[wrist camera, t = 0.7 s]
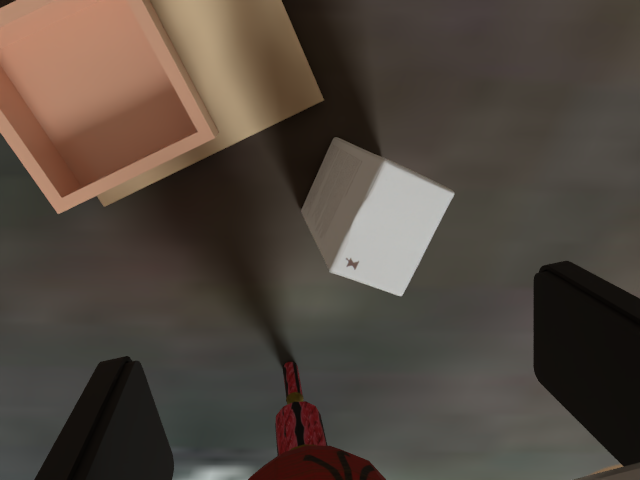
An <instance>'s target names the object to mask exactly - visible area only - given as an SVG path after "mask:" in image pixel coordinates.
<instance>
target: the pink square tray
mask: <svg viewBox="0 0 640 480" xmlns="http://www.w3.org/2000/svg"><path fill="white" fill-rule="evenodd" d="M0 133H1V134H2V135H3V137H4V138H5V140H6V141H7V142H8V144H9V145H10V147H11V148H12V150H13V151H14V152H15V154H16V155H17V157H18V158H19V159H20V161H21V162H22V164H23V165H24V167H25V168H26V169H27V171H28V172H29V174H30V175H31V176H32V178H33V179H34V181H35V182H36V183H37V185H38V186H39V188H40V189H41V191H42V192H43V193H44V195H45V196H46V198H47V199H48V200H49V202H50V203H51V205H52V206H53V208H54V209H55V210H56V212H57V213H58V214H60V213H62V212H64V211H66V210H68V209H70V208H72V207H74V206H76V205H78V204H80V203H82V202H84V201H86V200H88V199H91V198H93V197H95V196H97V195H99V194H101V193H103V192H105V191H107V190H109V189H111V188H113V187H115V186H117V185H119V184H121V183H124V182H126V181H128V180H130V179H132V178H134V177H136V176H138V175H140V174H142V173H144V172H146V171H148V170H150V169H152V168H154V167H157V166H159V165H161V164H163V163H165V162H167V161H169V160H171V159H173V158H175V157H177V156H179V155H181V154H183V153H185V152H187V151H190V150H192V149H194V148H196V147H198V146H200V145H202V144H204V143H206V142H208V141H210V140H212V139H214V138H216V136H217V135H218V133H219V131H218V129H217V127H216V125H215V123H214V121H213V119H212V117H211V115H210V114H209V112H208V110H207V108H206V106H205V104H204V102H203V100H202V98H201V96H200V95H199V93H198V91H197V89H196V87H195V85H194V83H193V81H192V79H191V77H190V75H189V74H188V72H187V70H186V68H185V66H184V64H183V62H182V60H181V58H180V56H179V55H178V53H177V51H176V49H175V47H174V45H173V43H172V41H171V39H170V37H169V35H168V34H167V32H166V30H165V28H164V26H163V24H162V22H161V20H160V18H159V16H158V15H157V13H156V11H155V9H154V7H153V5H152V3H151V1H150V0H16V1H14V2H12V3H10V4H8V5H6V6H4V7H2V8H0Z"/></svg>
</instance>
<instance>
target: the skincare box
mask: <svg viewBox="0 0 640 480" xmlns="http://www.w3.org/2000/svg"><path fill="white" fill-rule="evenodd" d="M454 194H455V193H454V192H453V191H452V190H450V189H449V188H447V187H444V186H442V185H440V184H438V183H436V182H434V181H432V180H430V179H428V178H426V177H424V176H422V175H420V174H418V173H416V172H414V171H412V170H410V169H408V168H406V167H403V166H401V165H399V164H397V163H395V162H392V161H390V160H388V159H386V158H383V157H381V156H378V155H376V154H373V153H371V152H369V151H366V150H364V149H362V148H360V147H357V146H355V145H353V144H351V143H349V142H347V141H344V140H342V139H340V138H338V137H334V138H333V140H332V142H331V144H330V147H329V149H328V151H327V153H326V155H325V158H324V160H323V162H322V164H321V167H320V169H319V171H318V173H317V176H316V178H315V180H314V182H313V185H312V187H311V189H310V191H309V194H308V196H307V198H306V200H305V203H304V205H303V207H302V209H301V213H302V215H303V217H304V219H305V222H306V223H307V225H308V228H309V230H310V232H311V234H312V236H313V238H314V240H315V242H316V244H317V246H318V248H319V250H320V252H321V254H322V257H323V259H324V261H325V263H326V265H327V267H328V269H329V271H330V272H331V273H334V274H337V275H340V276H343V277H346V278H349V279H352V280H355V281H357V282H360V283H363V284H366V285H369V286H372V287H375V288H378V289H380V290H383V291H386V292H389V293H392V294H395V295H397V296H402V295H403V293H404V291H405V289H406V287H407V285H408V284H409V282H410V280H411V278H412V276H413V274H414V272H415V270H416V268H417V266H418V264H419V262H420V260H421V258H422V256H423V254H424V252H425V250H426V248H427V246H428V244H429V242H430V240H431V238H432V236H433V234H434V232H435V230H436V229H437V227H438V225H439V223H440V221H441V219H442V217H443V215H444V213H445V211H446V209H447V207H448V205H449V203H450V201H451V199H452V198H453V196H454Z"/></svg>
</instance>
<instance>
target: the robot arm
mask: <svg viewBox="0 0 640 480" xmlns="http://www.w3.org/2000/svg"><path fill="white" fill-rule="evenodd" d="M534 372H535V375H536V377H537V379H538V381H539V382H540V383H541V384H542V385H543V386H544V387H545V388H546V389H547V390H548V391H549V392H550V393H551V394H552V395H553V396H554V397H555V398H556V399H557V400H558V401H559V402H560V403H561V404H562V405H563V406H564V407H565V408H566V409H567V410H568V411H569V412H570V413H571V414H572V415H573V416H574V417H575V418H576V419H577V420H578V421H579V422H580V423H581V424H582V425H583V426H584V427H585V428H586V429H587V430H588V431H589V432H590V433H591V434H592V435H593V436H594V437H595V438H596V439H597V440H598V441H599V442H600V443H601V444H602V445H603V446H604V447H605V448H606V449H607V450H608V451H609V452H610V453H611V454H612V455H613V456H614V457H615V458H616V459H617V460H618V461H619V462H620V463H621V464H622V465H623V466H624V467H621V468H617V469H613V470H609V471H605V472H602V473H597V474H593V475H590V476H586V477H582V478H578V479H574V480H640V299H639V298H638V297H636V296H634V295H632V294H630V293H628V292H626V291H624V290H622V289H621V288H619V287H617V286H615V285H613V284H611V283H609V282H607V281H606V280H604V279H602V278H600V277H598V276H596V275H594V274H592V273H590V272H589V271H587V270H585V269H583V268H581V267H579V266H577V265H575V264H573V263H572V262H569V261H563V262H558V263H553V264H549V265H544V266H542V267H541V268H540V270H539V273H537V274H536V275H535V276H534ZM173 471H174V460H173V455H172V451H171V448H170V446H169V443H168V440H167V437H166V434H165V431H164V428H163V425H162V423H161V420H160V417H159V414H158V411H157V408H156V405H155V402H154V399H153V397H152V394H151V391H150V388H149V385H148V382H147V379H146V376H145V374H144V371H143V368H142V365H141V363H140V362H139V361H133V362H132V360H131V359H130V357H128V356H125V357H121V358H116V359H112V360H107V361H103V362H100V363H99V364H98V366H97V367H96V369H95V371H94V373H93V375H92V377H91V378H90V380H89V382H88V384H87V386H86V387H85V389H84V391H83V393H82V395H81V396H80V398H79V400H78V402H77V404H76V405H75V407H74V409H73V411H72V413H71V415H70V416H69V418H68V420H67V422H66V424H65V425H64V427H63V429H62V431H61V433H60V434H59V436H58V438H57V440H56V442H55V443H54V445H53V447H52V449H51V451H50V452H49V454H48V456H47V458H46V460H45V462H44V463H43V465H42V467H41V469H40V471H39V472H38V474H37V476H36V478H35V480H172V477H173Z"/></svg>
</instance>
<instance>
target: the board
mask: <svg viewBox="0 0 640 480" xmlns="http://www.w3.org/2000/svg"><path fill="white" fill-rule="evenodd" d="M150 1H151V3H152V5H153V7H154V9H155V11H156V13H157V15H158V16H159V18H160V20H161V22H162V24H163V26H164V28H165V30H166V32H167V34H168V35H169V37H170V39H171V41H172V43H173V45H174V47H175V49H176V51H177V53H178V55H179V56H180V58H181V60H182V62H183V64H184V66H185V68H186V70H187V72H188V74H189V75H190V77H191V79H192V81H193V83H194V85H195V87H196V89H197V91H198V93H199V95H200V96H201V98H202V100H203V102H204V104H205V106H206V108H207V110H208V112H209V114H210V115H211V117H212V119H213V121H214V123H215V125H216V127H217V129H218V131H219V133H218V135H217V136H216V138H214V139H212V140H210V141H208V142H206V143H204V144H202V145H200V146H198V147H196V148H194V149H192V150H190V151H187V152H185V153H183V154H181V155H179V156H177V157H175V158H173V159H171V160H169V161H167V162H165V163H163V164H161V165H159V166H157V167H154V168H152V169H150V170H148V171H146V172H144V173H142V174H140V175H138V176H136V177H134V178H132V179H130V180H128V181H126V182H124V183H121V184H119V185H117V186H115V187H113V188H111V189H109V190H107V191H105V192H103V193H101V194H99V195H97V197H98V198H99V200H100V201H101V203H102V204H103V206H104V207H105V206H107V205H109V204H111V203H113V202H115V201H117V200H119V199H121V198H123V197H125V196H128V195H130V194H132V193H134V192H136V191H138V190H140V189H142V188H144V187H146V186H148V185H150V184H152V183H154V182H156V181H158V180H161V179H163V178H165V177H167V176H169V175H171V174H173V173H175V172H177V171H179V170H181V169H183V168H185V167H187V166H189V165H191V164H194V163H196V162H198V161H200V160H202V159H204V158H206V157H208V156H210V155H212V154H214V153H216V152H218V151H220V150H222V149H224V148H227V147H229V146H231V145H233V144H235V143H237V142H239V141H241V140H243V139H245V138H247V137H249V136H251V135H253V134H255V133H257V132H260V131H262V130H264V129H266V128H268V127H270V126H272V125H274V124H276V123H278V122H280V121H282V120H284V119H286V118H288V117H290V116H293V115H295V114H297V113H299V112H301V111H303V110H305V109H307V108H309V107H311V106H313V105H315V104H317V103H319V102H321V101H323V100H324V99H323V96H322V94H321V92H320V89H319V87H318V85H317V82H316V80H315V78H314V75H313V73H312V71H311V68H310V66H309V64H308V61H307V59H306V57H305V54H304V52H303V50H302V47H301V45H300V43H299V40H298V38H297V36H296V33H295V31H294V29H293V26H292V24H291V21H290V19H289V17H288V14H287V12H286V10H285V7H284V5H283V3H282V0H150Z"/></svg>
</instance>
